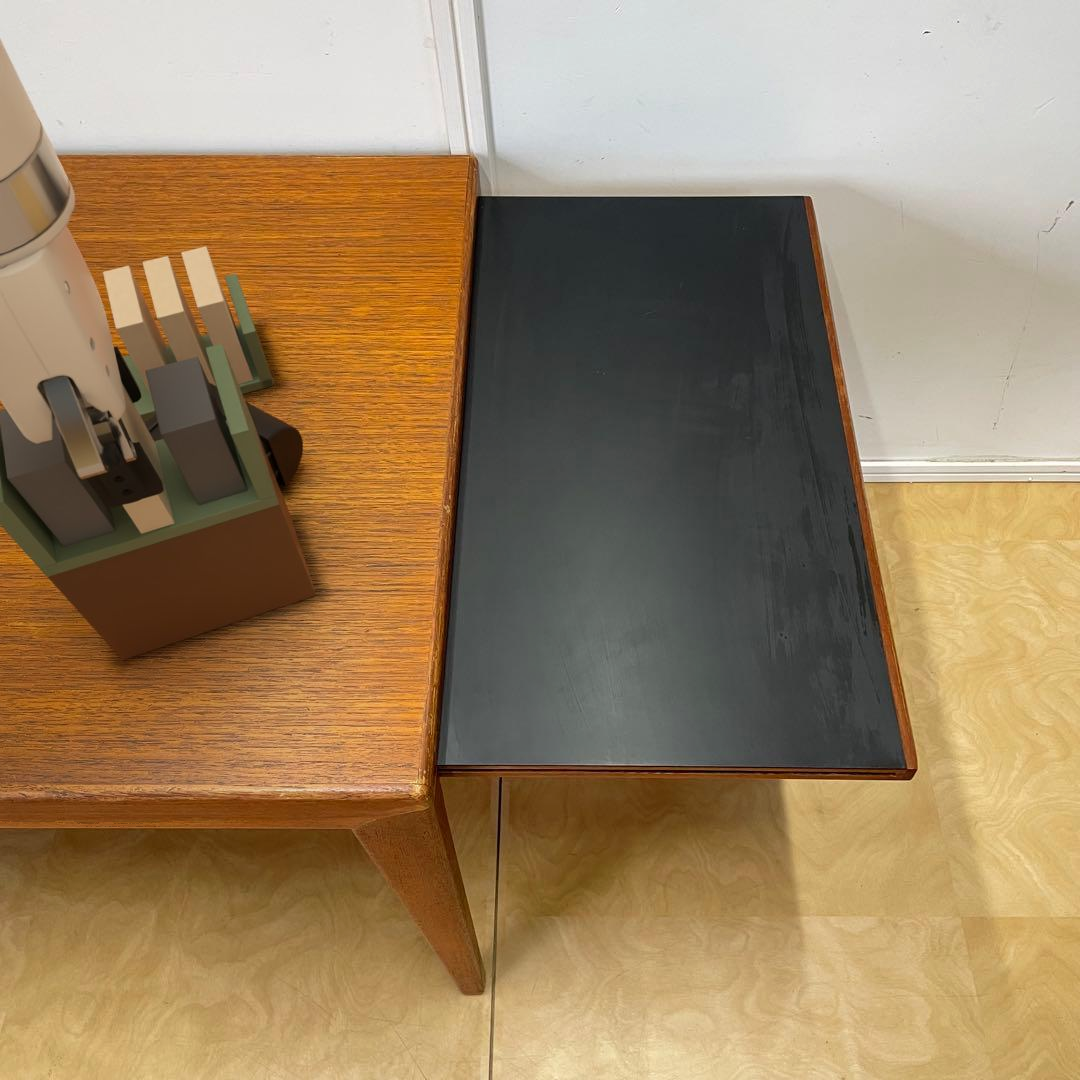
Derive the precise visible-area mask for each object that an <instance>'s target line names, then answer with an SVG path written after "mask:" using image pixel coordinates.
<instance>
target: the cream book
mask: <svg viewBox="0 0 1080 1080" xmlns="http://www.w3.org/2000/svg"><path fill="white" fill-rule="evenodd" d="M121 383H122V382H121ZM122 388H123V393H124V398H125V405H126V409H125V411H124V413H123V415H122V417H121V419H122V421H123V423H124V425H125V428H126V430H127V432H128V434H129V436H130V439H131V441H132V442H135V443H136V442H139V443H140V444H141V446H142V448H143V450H144V451H145V453H146V455H147V456H148V458H149V460H150V462H151V463H152V465H153V467H154V469H155V470H156V472H157V474H158V476H159V477H160V479H161V481H162V484H163V489H164V490H163V492H162V493H160V494H158V495H154V496H151V497H148V498H144V499H141V500H139V501H136V502H133V503H130V504H124V505H123V507H124V508H125V510H126V511H127V513H128V514H129V516H130V518H131V519H132V521H133V522H134V524H135V525H136V527H137V528H138V530H139V531H140V533H141V534H142V533H146V532H149V531H152V530H155V529H159V528H162V527H165V526H168V525H172V524H174V523H175V522H174V518H173V514H172V510H171V506H170V502H169V497H168V493H167V489H166V485H165V481H164V477H163V472H162V468H161V464H160V460H159V456H158V452H157V447H156V444H155V442H154V440H153V438H152V437H151V435H150V433H149V431H148V429H147V427H146V426H145V422H143V420H142V418H141V416H140V415H139V413H138V411H137V409H136V407H135V406H134V404H133V402H132V400H131V398H130V396H129V395H128V393H127V391H126V389H125V387H124V385H123V384H122ZM83 401H84V404H85V407H89V406H92V405H90V404H89V403H87V402H86V401H85V399H83ZM93 427H94V430H95V432H96V435H97V437H98V440H99V442H100V444H101V445H103V444H106V443H110V442H113V441H116V440H115V438H114V436H113V434H112V432H111V430H110V428H109V425H108V423H107V422H103V423H99V424H96V425H93Z"/></svg>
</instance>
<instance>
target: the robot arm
mask: <svg viewBox="0 0 1080 1080" xmlns="http://www.w3.org/2000/svg"><path fill="white" fill-rule="evenodd" d="M23 84H24V83H23V82H22V81H21V78H20V76H19V74H18V72H17V69H16V68H15V66H14V64H13V62H12V60H11V57H10V56H9V54H8V52H7V49H6V47H5V45H4V43H3V41H2V39H1V38H0V402H1V404H2V405H3V407H4V409H6V410H7V412H8V413H9V415H10V416H11V418H12V419H13V421H14V422H15V424H16V425H17V427H18V428H19V430H20V431H21V432H22V434H23V435H24V436H25V437H26V438H27V439H28V440H30V441H32V442H34V443H36V444H38V443H42V442H45V441H49V440H52V438H53V430H52V417H53V419H54V421H55V423H56V425H57V427H58V429H59V431H60V433H61V435H62V437H63V439H64V441H65V444H66V446H67V449H68V451H69V454H70V456H71V459H72V462H73V464H74V467H75V469H76V471H77V474H78V476H79V477H80V478H81V479H82V480H83V479H87V481H88V482H89V483H90V485H91V486H92V488H93V489H94V491H95V492H96V494H97V495H98V496H99V498H100V499H101V501H102V502H103V504H104V505H105V506H106V507H108V508H114V507H117V506H121V505H124V504H130V503H133V502H136V501H139V500H141V499H144V498H148V497H151V496H154V495H158V494H160V493H162V492H163V490H164V489H163V484H162V481H161V479H160V477H159V476H158V474H157V472H156V470H155V469H154V467H153V465H152V463H151V462H150V460H149V458H148V456H147V455H146V453H145V451H144V450H143V448H142V446H141V444H140V443H139V442H136V443H135V442H132V441H131V439H130V436H129V434H128V432H127V430H126V428H125V425H124V423H123V421H122V419H121V417H122V415H123V413H124V411H125V409H126V405H125V398H124V393H123V388H122V384H123V385H124V387H125V389H126V391H127V393H128V395H129V396H130V398H131V400H132V402H133V403H135V402H138V401H139V400H140V399H141V392H140V388H139V387H138V385H137V383H136V381H135V379H134V377H133V375H132V373H131V371H130V370H129V368H128V366H127V364H126V362H125V360H124V358H123V357H124V356H123V355H122V353H121V351H120V349H119V346H114V343H113V338H112V334H111V331H110V326H109V321H108V317H107V315H106V310H105V306H104V304H103V301H102V298H101V295H100V291H99V289H98V287H97V284H96V282H95V280H94V278H93V275H92V273H91V271H90V269H89V267H88V265H87V262H86V260H85V258H84V256H83V254H82V253H81V250H80V248H79V247H78V244H77V243H76V241H75V239H74V237H73V235H72V233H71V231H70V229H69V227H68V224H69V222H70V220H71V218H72V214H73V213H74V211H75V207H76V193H75V190H74V187H73V184H72V183H71V181H70V179H69V177H68V175H67V172H66V171H65V169H64V167H63V165H62V163H61V161H60V159H59V156H58V154H57V153H56V150H55V148H54V147H53V145H52V142H51V140H50V139H49V136H48V134H47V132H46V130H45V128H44V125H43V124H42V121H41V120H40V118H39V115H38V113H37V111H36V109H35V107H34V105H33V103H32V100H31V99H30V97H29V95H28V93H27V90H26V89H25V87H24V85H23ZM121 382H122V383H121ZM83 399H85V401H86V402H87V403H89V404H90V405H92V406H89V407H85V404H84V401H83ZM103 422H107V423H108V425H109V428H110V430H111V432H112V434H113V436H114V438H115V440H116V441H113V442H110V443H106V444H103V445H101V444H100V442H99V440H98V437H97V435H96V432H95V430H94V427H93V425H96V424H99V423H103Z"/></svg>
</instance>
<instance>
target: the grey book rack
mask: <svg viewBox="0 0 1080 1080" xmlns="http://www.w3.org/2000/svg"><path fill="white" fill-rule="evenodd" d="M206 352H207V355H208V359H209V362H210V365H211V369H212V372H213V376H214V379H215V382H216V386H217V389H218V392H219V396H220V399H221V403H222V406H223V409H224V413H225V416H226V420H227V421H226V420H225V418H224V416H223V413H222V411H221V409H220V407H219V404H218V402H217V400H216V397H215V395H214V393H213V391H212V388H211V386H210V384H209V381H208V379H207V377H206V374H205V372H204V370H203V368H202V365H201V363H200V361H199V358H198V357H193V358H189V359H186V360H182V361H178V362H175V363H171V364H167V365H164V366H160V367H156V368H153V369H149V370H146V371H145V372H146V376H147V380H148V384H149V388H150V392H151V396H152V400H153V405H154V409H155V413H156V417H157V421H158V425H159V429H160V433H161V436H162V437H163V439H161V440H158V441H154V442H155V444H156V447H157V452H158V456H159V460H160V464H161V468H162V472H163V477H164V481H165V485H166V489H167V493H168V497H169V502H170V506H171V510H172V514H173V518H174V522H175V523H174V524H172V525H168V526H165V527H162V528H159V529H155V530H152V531H149V532H146V533H142V534H141V533H140V531H139V530H138V528H137V527H136V525H135V524H134V522H133V521H132V519H131V518H130V516H129V514H128V513H127V511H126V510H125V508H124V507H123V505H121V506H117V507H114V508H108V507H106V506H105V505H104V504H103V502H102V501H101V499H100V498H99V496H98V495H97V494H96V492H95V491H94V489H93V488H92V486H91V485H90V483H89V482H88V481H87V479H83V480H82V479H81V478H80V477H79V476H78V474H77V471H76V469H75V467H74V464H73V462H72V459H71V456H70V454H69V451H68V449H67V446H66V444H65V441H64V439H63V437H62V435H61V433H60V431H59V429H58V427H57V425H56V423H55V421H54V419H53V417H52V430H53V438H52V440H49V441H45V442H42V443H38V444H36V443H34V442H32V441H30V440H28V439H27V438H26V437H25V436H24V435H23V434H22V432H21V431H20V430H19V428H18V427H17V425H16V424H15V422H14V421H13V419H12V418H11V416H10V415H9V413H8V412H7V410H6V409H5V408H2V409H0V526H1V528H2V529H3V530H4V531H5V532H6V533H7V534H8V535H9V537H10V538H11V539H12V540H13V541H14V542H15V543H16V544H17V546H19V548H20V549H21V550H22V551H23V553H25V554H26V555H27V557H29V559H31V561H32V563H34V564H35V566H37V567H38V569H39V570H40V571H41V572H42V574H44V575H45V576H46V577H47V579H48V580H49V581H51V583H52V584H53V585H54V586H55V587H56V588H57V589H58V591H60V593H61V594H62V595H63V596H64V597H65V598H66V599H67V601H68V602H70V604H71V605H72V606H73V607H74V608H75V609H76V611H77V612H78V613H79V614H80V615H81V616H82V617H83V618H84V619H85V620H86V621H87V622H88V624H89V625H90V626H91V627H92V628H93V629H94V630H95V632H97V634H98V635H99V636H100V637H101V638H102V639H103V640H104V642H105V643H106V644H107V645H108V646H109V647H110V648H111V649H112V650H113V651H114V653H116V655H117V656H118V657H119V658H120V659H121V660H122V661H125V660H128V659H130V658H133V657H137V656H139V655H143V654H146V653H148V652H151V651H154V650H158V649H160V648H163V647H166V646H169V645H172V644H175V643H178V642H181V641H184V640H187V639H191V638H193V637H196V636H199V635H202V634H204V633H208V632H211V631H213V630H217V629H220V628H222V627H226V626H229V625H232V624H235V623H237V622H240V621H243V620H247V619H250V618H253V617H256V616H258V615H261V614H264V613H268V612H271V611H273V610H276V609H280V608H282V607H285V606H289V605H290V604H295V603H297V602H301V601H303V600H306V599H309V598H311V597H312V598H313V597H316V595H317V593H316V589H315V586H314V583H313V580H312V577H311V574H310V570H309V568H308V565H307V561H306V559H305V555H304V552H303V548H302V545H301V543H300V540H299V536H298V533H297V531H296V527H295V524H294V520H293V519H292V516H291V513H290V511H289V508H288V506H287V503H286V501H285V499H284V498H285V497H284V496H283V493H282V491H280V488H279V486H278V483H277V480H276V478H275V475H274V473H273V470H272V468H271V465H270V463H269V460H268V458H267V455H266V453H265V450H264V448H263V445H262V443H261V440H260V438H259V435H258V433H257V430H256V428H255V425H254V422H253V420H252V417H251V415H250V412H249V410H248V407H247V405H246V402H247V401H246V400H245V396H244V394H242V392H241V390H240V387H239V385H238V382H237V380H236V377H235V374H234V372H233V369H232V367H231V364H230V362H229V359H228V357H227V354H226V352H225V349H224V347H223V344H218V345H215V346H211V347H207V348H206Z"/></svg>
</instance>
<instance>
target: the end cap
mask: <svg viewBox="0 0 1080 1080" xmlns="http://www.w3.org/2000/svg"><path fill="white" fill-rule="evenodd" d="M209 384H210V386H211V388H212V391H213V393H214V395H215V397H216V400H217V402H218V404H219V407H220V409H221V411H222V413H223V416H224V418H225V420H226V416H225V413H224V409H223V406H222V403H221V399H220V396H219V392H218V389H217V386H215V385H213V384H211V383H209ZM245 402H246V405H247V407H248V410H249V412H250V415H251V417H252V420H253V422H254V425H255V428H256V430H257V433H258V435H259V438H260V440H261V443H262V445H263V448H264V450H265V453H266V455H267V458H268V460H269V463H270V465H271V468H272V470H273V473H274V475H275V478H276V480H277V483H278V486H279V488H280V491H281V492H282V491H283V490H284V489H285V487H287V486H288V484H289V483H290V482H291V481H292V480H293V478H294V476H295V474H296V473H297V471H298V468H299V466H300V463H301V461H302V457H303V451H304V440H303V436H302V434H301V432H300V431H299V430H298V429H297V428H296V427H295V426H293V425H291V424H289V423H287V422H286V421H283V420H281V419H280V418H278V417H275V416H274V415H272V414H270V413H269V412H266V411H265V410H262V409H260V408H259V407H257V406H256V405H255V406H254V405H253V404H251V403H249V402H247V401H245ZM226 421H227V420H226ZM144 424H145V426H146V427H147V429H148V431H149V433H150V435H151V437H152V438H153V440H154V441H158V440H161V439H163V437H162V436H161V433H160V429H159V425H158V421H157V417H156V413H155V414H154V415H153V416H152V417H151V418H150V419H149V420H148V421H147V422H144Z"/></svg>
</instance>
